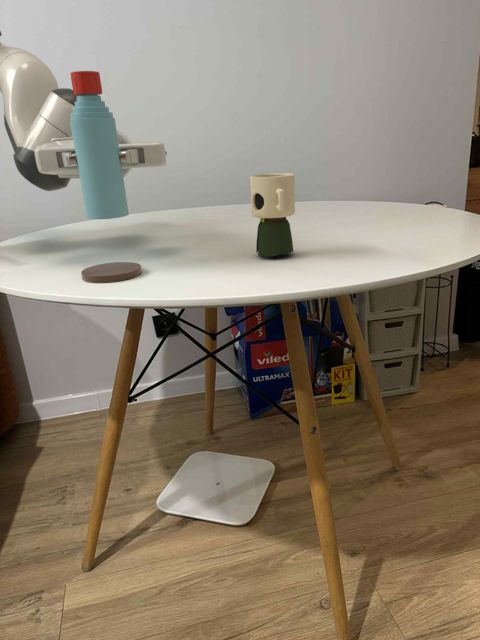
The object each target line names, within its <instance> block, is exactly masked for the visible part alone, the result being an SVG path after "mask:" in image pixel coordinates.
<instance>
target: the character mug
mask: <svg viewBox="0 0 480 640" xmlns="http://www.w3.org/2000/svg"><path fill="white" fill-rule="evenodd" d="M249 184H250V204H251V213H252V214H251V215H252V217H254V218H257V219H258V218H259V223H258V225H257V233H256V245H255V246H256V250H255V254H257V255H258V256H260V257H275V258H277V257H278V258H279V257H280V256H281V255H285V254H291V253H293V252H294V243H293V237H292V230H291V223H290V221H289V220H288V219H287V218H288V217H291V216H293V215H295V213H296V202H295V201H296V197H295V196H296V193H295V191H296V190H295V188H296V187H295V174H294V173H288V172H287V173H286V172H285V173H283V172H282V173H281V172H280V173H278V172H277V173H264V174H263V173H262V174H255V175H250V176H249Z"/></svg>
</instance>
